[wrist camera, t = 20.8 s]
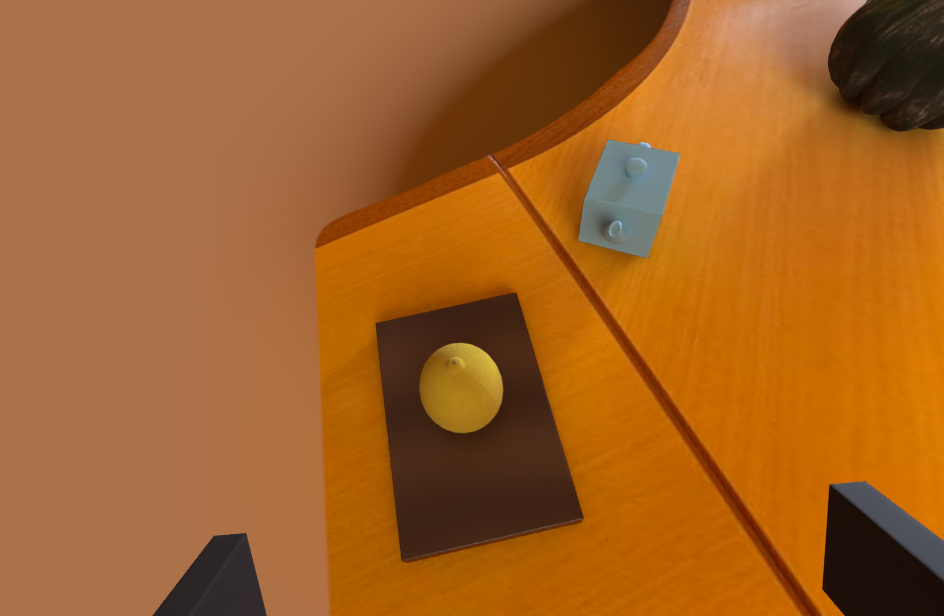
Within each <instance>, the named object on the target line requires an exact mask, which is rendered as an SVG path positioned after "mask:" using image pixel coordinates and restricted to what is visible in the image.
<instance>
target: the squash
mask: <svg viewBox="0 0 944 616" xmlns="http://www.w3.org/2000/svg"><path fill="white" fill-rule="evenodd" d="M828 68H829V72H830V76H831V79H832V81H833V83H834V84H835V85H836V86H837V87H839V92H840V95H841V97H842V99H843V100H844V101H845V102H847V103H860V102H861V103H860V106H861V110H862V111H864V112H865V113H866V114H869V115H876V114H880V117H881V120H882V121H883V123H884V124H885V125H886V126H887V127H889V128H890V129H892V130H894V131H899V132H900V131H908V130H912V129H915V128H917V127H919V128H922V129H927V130H933V129H940V128H944V0H867V1H866V3H865V4H864V5H863V6H862V7H860V8H859V9H858V10H857V11H856V12H855V13H854V14H852V15H851V17H850V18H849V19H848V20H847V21H846V22H845V23H844V24H843V25H842V27H841V28H840V30H839V31H838V33H837V35H836V37H835V39H834V41H833V43H832V46H831V49H830V53H829V57H828Z"/></svg>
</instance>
